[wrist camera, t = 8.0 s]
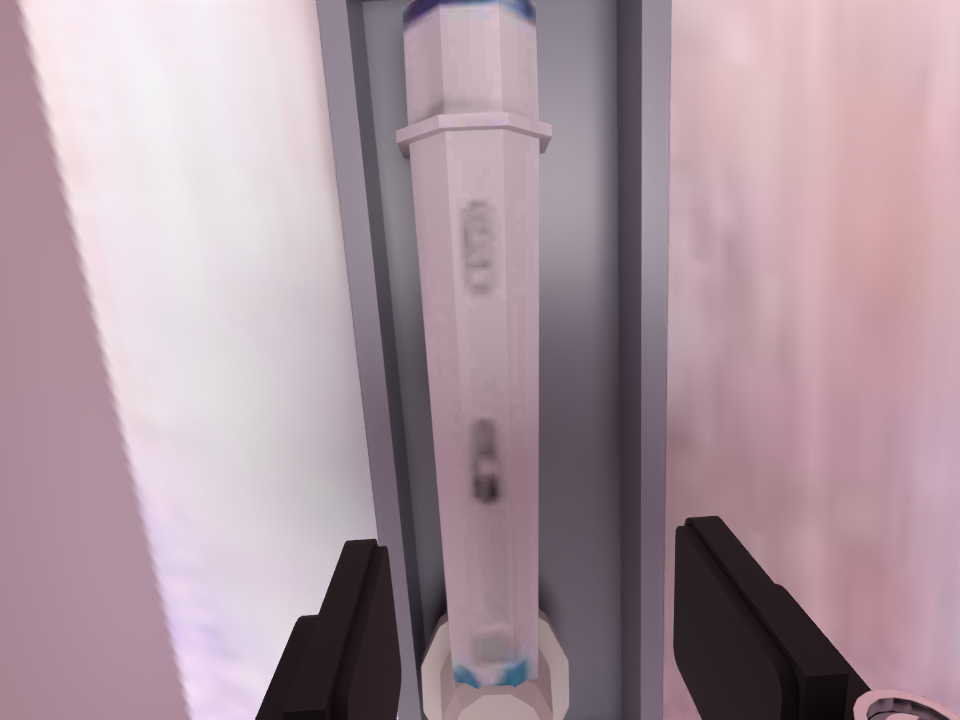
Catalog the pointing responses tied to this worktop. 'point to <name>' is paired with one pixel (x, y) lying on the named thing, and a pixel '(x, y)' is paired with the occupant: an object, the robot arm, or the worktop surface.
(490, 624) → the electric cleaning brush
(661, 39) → the tray
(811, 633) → the robot arm
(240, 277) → the worktop surface
